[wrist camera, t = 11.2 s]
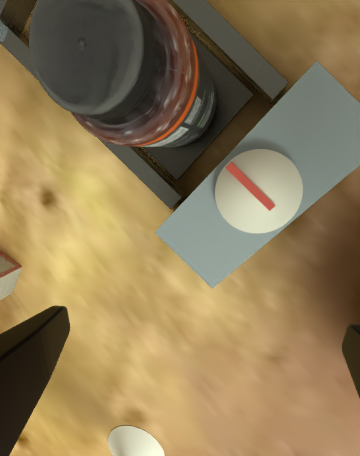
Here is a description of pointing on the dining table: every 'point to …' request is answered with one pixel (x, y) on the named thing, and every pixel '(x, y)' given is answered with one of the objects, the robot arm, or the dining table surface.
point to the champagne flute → (133, 442)
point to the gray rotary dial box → (268, 177)
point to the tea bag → (8, 275)
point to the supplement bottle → (123, 70)
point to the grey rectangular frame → (223, 79)
